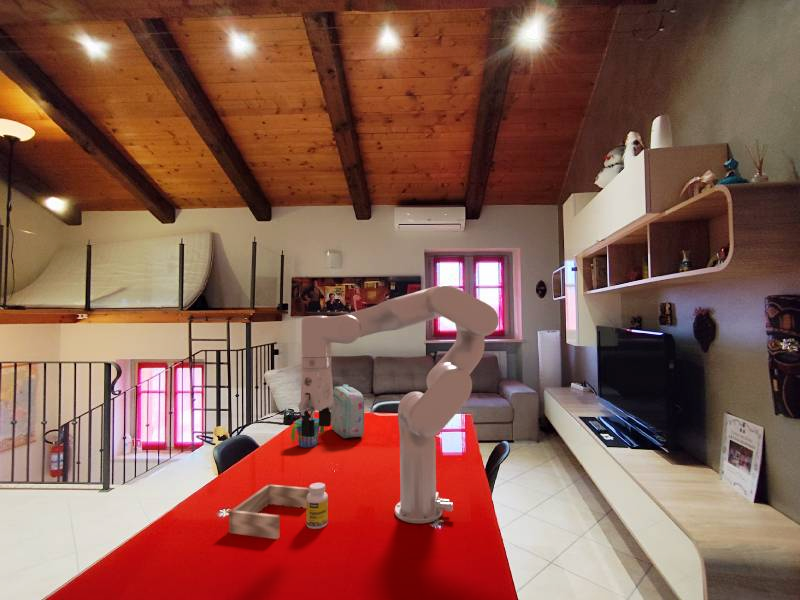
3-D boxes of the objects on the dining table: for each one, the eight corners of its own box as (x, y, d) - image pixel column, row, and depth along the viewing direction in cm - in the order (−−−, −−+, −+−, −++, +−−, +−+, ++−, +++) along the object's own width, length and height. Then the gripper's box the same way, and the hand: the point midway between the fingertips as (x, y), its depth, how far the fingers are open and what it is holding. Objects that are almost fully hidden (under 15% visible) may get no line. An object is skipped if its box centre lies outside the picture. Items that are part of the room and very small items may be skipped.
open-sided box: (309, 506, 111) (309, 488, 112) (277, 539, 95) (277, 517, 95) (267, 502, 115) (267, 484, 115) (229, 532, 98) (229, 511, 98)
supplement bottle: (306, 531, 99) (306, 490, 99) (305, 520, 104) (305, 482, 104) (328, 527, 100) (328, 488, 100) (326, 517, 105) (326, 480, 106)
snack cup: (317, 438, 176) (317, 415, 177) (331, 443, 169) (331, 419, 169) (284, 446, 165) (284, 421, 166) (297, 452, 158) (297, 426, 158)
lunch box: (327, 427, 194) (327, 383, 195) (348, 425, 199) (347, 381, 200) (343, 442, 170) (343, 391, 171) (366, 439, 174) (366, 389, 176)
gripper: (315, 367, 95) (315, 441, 94) (342, 360, 111) (343, 423, 111) (286, 367, 96) (286, 440, 96) (317, 360, 113) (317, 422, 112)
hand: (316, 431), depth 103 cm, fingers open, 9 cm apart
